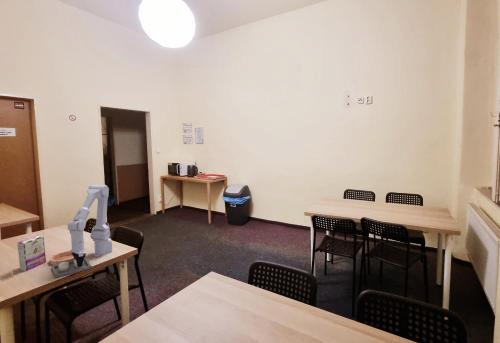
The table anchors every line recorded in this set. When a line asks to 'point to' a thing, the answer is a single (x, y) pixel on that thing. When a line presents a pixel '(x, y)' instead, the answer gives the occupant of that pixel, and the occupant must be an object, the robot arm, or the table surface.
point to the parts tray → (70, 269)
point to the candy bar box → (31, 253)
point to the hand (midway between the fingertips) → (79, 264)
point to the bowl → (61, 258)
